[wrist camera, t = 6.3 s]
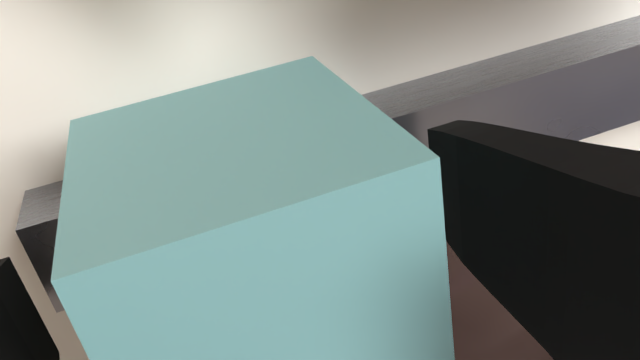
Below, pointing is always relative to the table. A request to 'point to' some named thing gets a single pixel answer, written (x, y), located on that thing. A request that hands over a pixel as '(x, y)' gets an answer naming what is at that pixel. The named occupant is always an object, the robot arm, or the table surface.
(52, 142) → the base board
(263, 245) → the block
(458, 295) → the table surface
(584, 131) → the rail
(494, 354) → the table surface
